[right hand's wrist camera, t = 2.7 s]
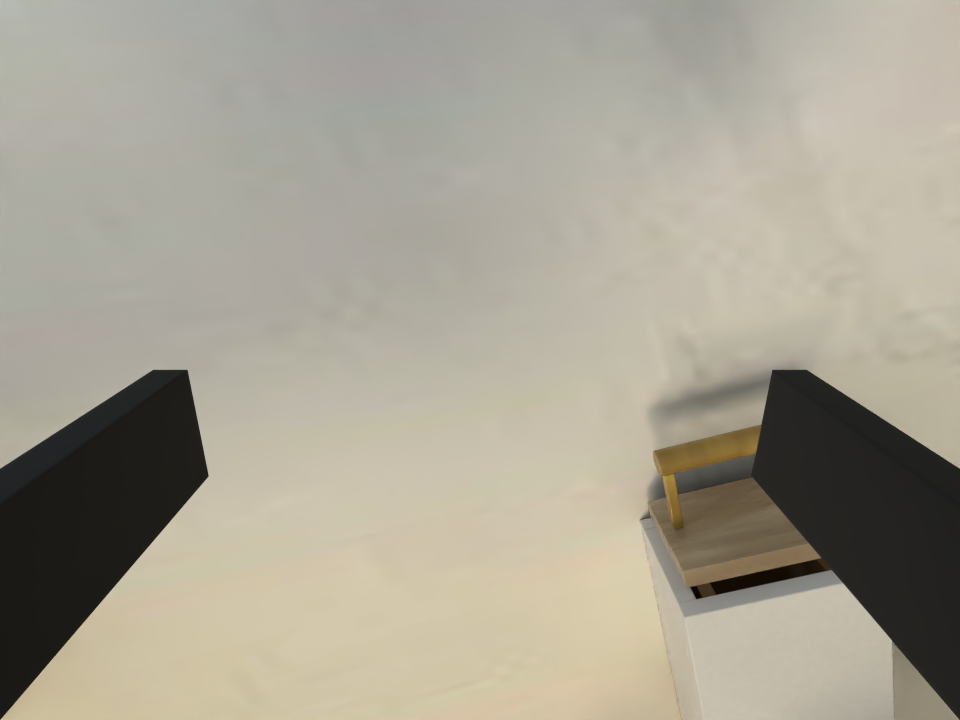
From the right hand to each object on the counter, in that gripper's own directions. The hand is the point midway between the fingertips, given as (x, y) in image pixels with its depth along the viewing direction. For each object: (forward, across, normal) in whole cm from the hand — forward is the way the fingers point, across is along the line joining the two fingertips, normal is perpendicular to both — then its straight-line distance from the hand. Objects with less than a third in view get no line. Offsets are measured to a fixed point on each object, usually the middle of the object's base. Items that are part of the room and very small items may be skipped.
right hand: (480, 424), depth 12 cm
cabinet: (+20, -19, +26) cm, 38 cm away
